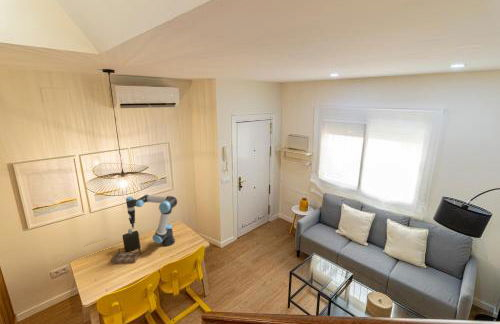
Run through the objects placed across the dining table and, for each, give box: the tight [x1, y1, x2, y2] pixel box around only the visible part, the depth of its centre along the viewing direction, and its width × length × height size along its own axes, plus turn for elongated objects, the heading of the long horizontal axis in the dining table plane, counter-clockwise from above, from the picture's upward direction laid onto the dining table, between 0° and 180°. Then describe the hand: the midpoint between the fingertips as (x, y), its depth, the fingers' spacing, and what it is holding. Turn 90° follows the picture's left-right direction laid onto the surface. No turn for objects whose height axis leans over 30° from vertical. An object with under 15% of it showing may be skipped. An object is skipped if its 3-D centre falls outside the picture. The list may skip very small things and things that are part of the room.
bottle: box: [122, 228, 141, 252], centre depth 275 cm, size 8×16×25 cm, turn 128°
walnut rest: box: [110, 248, 142, 265], centre depth 262 cm, size 24×18×5 cm
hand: (133, 228), depth 283 cm, fingers closed
